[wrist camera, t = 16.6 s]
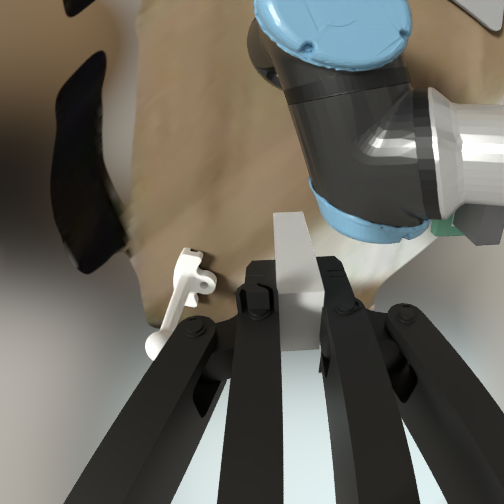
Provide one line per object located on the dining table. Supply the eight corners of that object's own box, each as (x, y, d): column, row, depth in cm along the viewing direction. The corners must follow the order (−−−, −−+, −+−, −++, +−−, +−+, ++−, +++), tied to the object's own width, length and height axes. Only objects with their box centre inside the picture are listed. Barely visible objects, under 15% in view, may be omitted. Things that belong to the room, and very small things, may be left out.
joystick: (178, 246, 50) (137, 326, 32) (220, 253, 50) (198, 340, 33) (175, 295, 55) (144, 378, 38) (213, 303, 56) (194, 389, 38)
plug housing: (461, 163, 37) (489, 178, 30) (485, 166, 37) (513, 181, 30) (452, 223, 43) (475, 245, 36) (475, 223, 42) (499, 244, 35)
